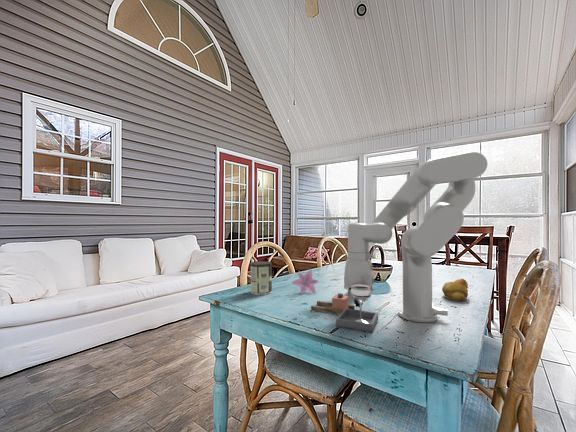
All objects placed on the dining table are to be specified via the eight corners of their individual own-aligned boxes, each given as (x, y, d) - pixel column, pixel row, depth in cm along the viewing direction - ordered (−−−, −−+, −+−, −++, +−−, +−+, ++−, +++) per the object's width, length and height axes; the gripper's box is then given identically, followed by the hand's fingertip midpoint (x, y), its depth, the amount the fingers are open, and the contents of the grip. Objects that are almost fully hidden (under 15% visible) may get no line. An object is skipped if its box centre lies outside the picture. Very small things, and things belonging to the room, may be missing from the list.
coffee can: (262, 288, 142) (262, 260, 142) (276, 291, 135) (276, 262, 135) (246, 292, 135) (245, 262, 135) (260, 296, 128) (259, 265, 128)
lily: (288, 294, 133) (291, 279, 129) (295, 280, 143) (299, 265, 139) (312, 304, 130) (316, 288, 126) (318, 288, 141) (322, 273, 136)
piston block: (348, 309, 108) (348, 292, 108) (345, 313, 104) (345, 296, 104) (335, 307, 110) (335, 291, 110) (332, 311, 106) (332, 294, 106)
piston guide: (354, 309, 109) (354, 305, 109) (348, 318, 99) (348, 313, 99) (317, 304, 115) (317, 300, 115) (308, 312, 106) (308, 308, 106)
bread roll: (468, 304, 113) (468, 284, 113) (441, 300, 118) (441, 281, 118) (467, 296, 124) (467, 278, 124) (442, 293, 129) (442, 276, 129)
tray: (378, 320, 97) (378, 312, 97) (372, 332, 87) (372, 324, 87) (344, 315, 102) (344, 308, 102) (336, 326, 92) (335, 319, 92)
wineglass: (355, 316, 99) (355, 282, 99) (374, 321, 95) (374, 285, 95) (346, 322, 94) (346, 286, 94) (366, 327, 89) (365, 289, 89)
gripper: (380, 256, 104) (381, 305, 104) (341, 254, 111) (341, 300, 111) (378, 259, 97) (378, 312, 97) (335, 256, 104) (336, 306, 104)
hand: (358, 305), depth 104 cm, fingers closed
